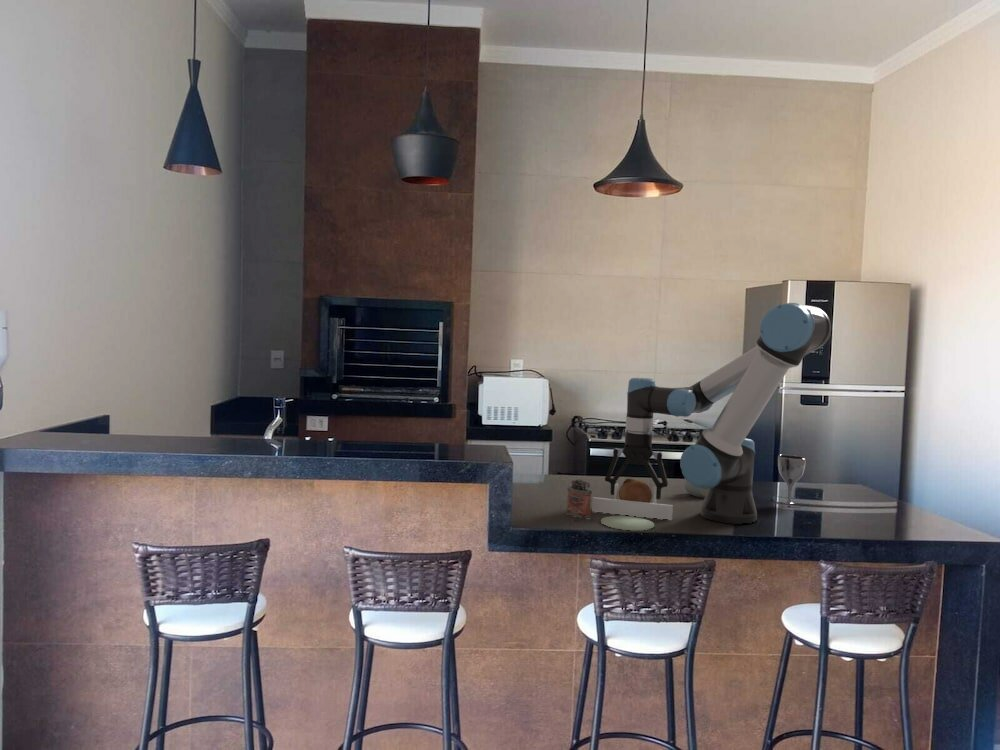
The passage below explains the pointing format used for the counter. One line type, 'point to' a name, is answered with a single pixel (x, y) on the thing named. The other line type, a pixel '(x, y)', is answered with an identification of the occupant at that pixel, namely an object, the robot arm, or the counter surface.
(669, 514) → the low wall
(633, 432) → the robot arm
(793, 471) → the wine glass
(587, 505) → the lighter
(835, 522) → the counter surface
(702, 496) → the air freshener
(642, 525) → the pad
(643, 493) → the onion
